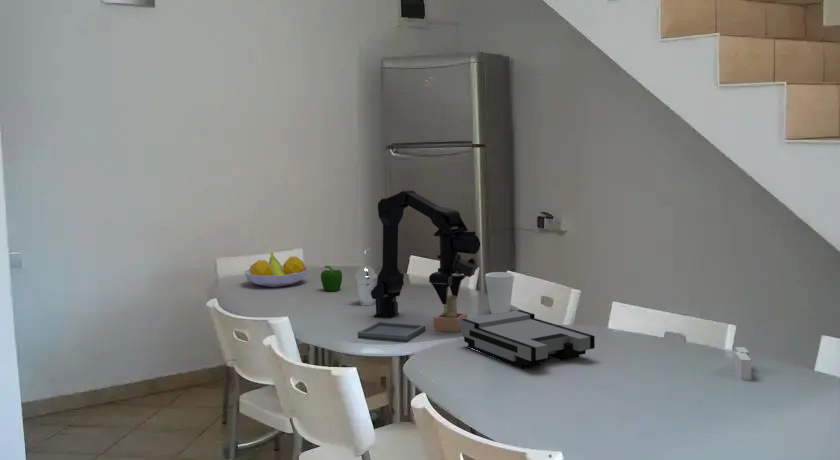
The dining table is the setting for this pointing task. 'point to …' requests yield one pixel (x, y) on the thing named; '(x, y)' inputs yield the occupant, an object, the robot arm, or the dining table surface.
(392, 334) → the charcoal tray
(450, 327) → the terracotta square frame
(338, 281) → the bell pepper
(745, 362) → the napkin holder
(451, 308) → the dowel pin
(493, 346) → the game console
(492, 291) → the foam cup
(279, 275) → the fruit bowl
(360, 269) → the cup with straw
